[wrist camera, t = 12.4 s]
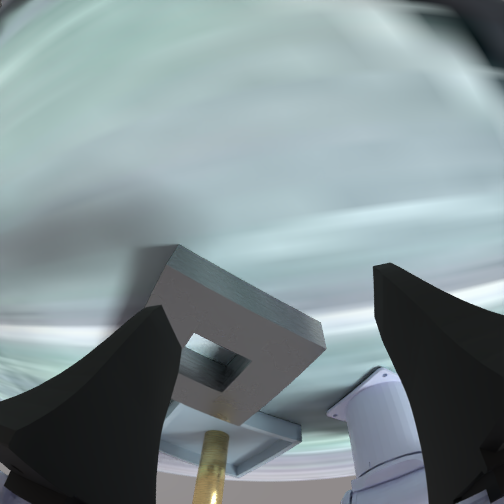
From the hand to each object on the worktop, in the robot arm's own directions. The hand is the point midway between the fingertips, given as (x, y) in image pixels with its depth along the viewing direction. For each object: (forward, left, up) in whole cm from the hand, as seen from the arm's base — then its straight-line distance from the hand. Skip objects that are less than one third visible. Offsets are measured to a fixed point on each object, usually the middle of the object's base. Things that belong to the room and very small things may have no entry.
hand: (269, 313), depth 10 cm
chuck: (-2, +11, -10) cm, 15 cm away
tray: (-9, +24, -10) cm, 28 cm away
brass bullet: (-9, +24, -10) cm, 27 cm away
